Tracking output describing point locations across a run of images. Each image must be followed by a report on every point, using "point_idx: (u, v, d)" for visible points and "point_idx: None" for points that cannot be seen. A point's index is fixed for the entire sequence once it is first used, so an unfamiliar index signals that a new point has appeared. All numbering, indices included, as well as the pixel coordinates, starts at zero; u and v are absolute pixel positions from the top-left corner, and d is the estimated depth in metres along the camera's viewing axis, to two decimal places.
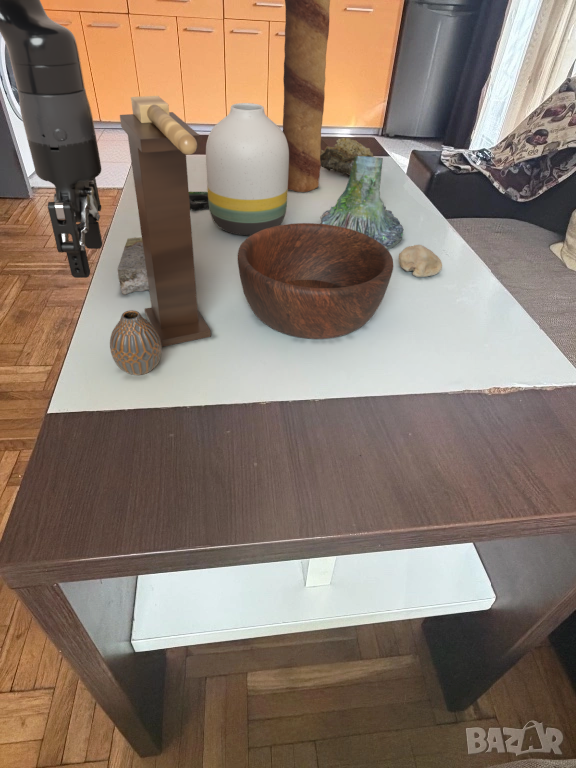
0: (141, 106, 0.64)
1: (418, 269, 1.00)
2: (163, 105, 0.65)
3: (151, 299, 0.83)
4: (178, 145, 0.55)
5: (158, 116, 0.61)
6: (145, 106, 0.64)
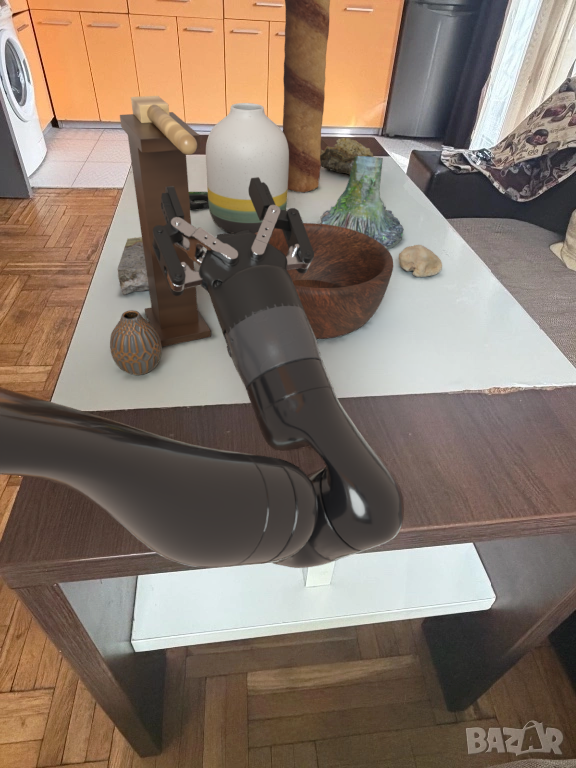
0: (141, 106, 0.64)
1: (418, 269, 1.00)
2: (163, 105, 0.65)
3: (151, 299, 0.83)
4: (178, 145, 0.55)
5: (158, 116, 0.61)
6: (145, 106, 0.64)
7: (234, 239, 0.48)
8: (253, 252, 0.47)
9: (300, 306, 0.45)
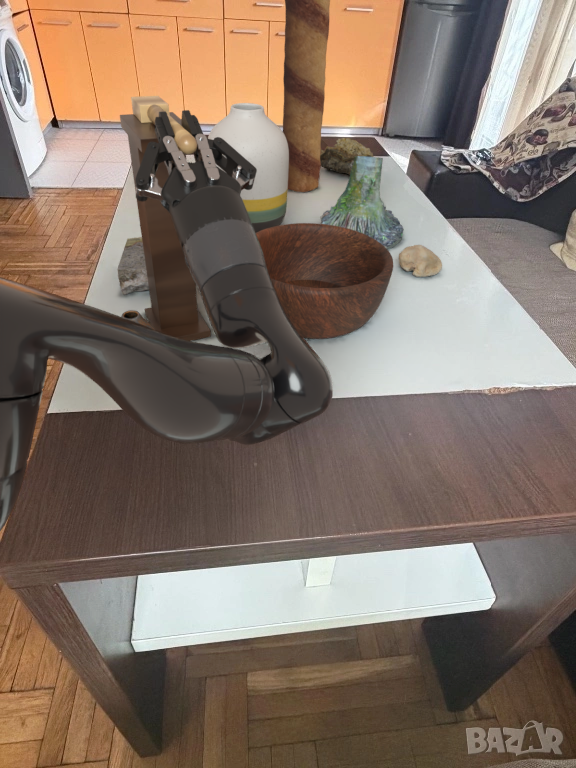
0: (141, 106, 0.64)
1: (418, 269, 1.00)
2: (163, 105, 0.65)
3: (151, 299, 0.83)
4: (178, 145, 0.55)
5: (158, 115, 0.61)
6: (145, 106, 0.64)
7: (193, 167, 0.54)
8: (212, 179, 0.53)
9: (248, 222, 0.51)
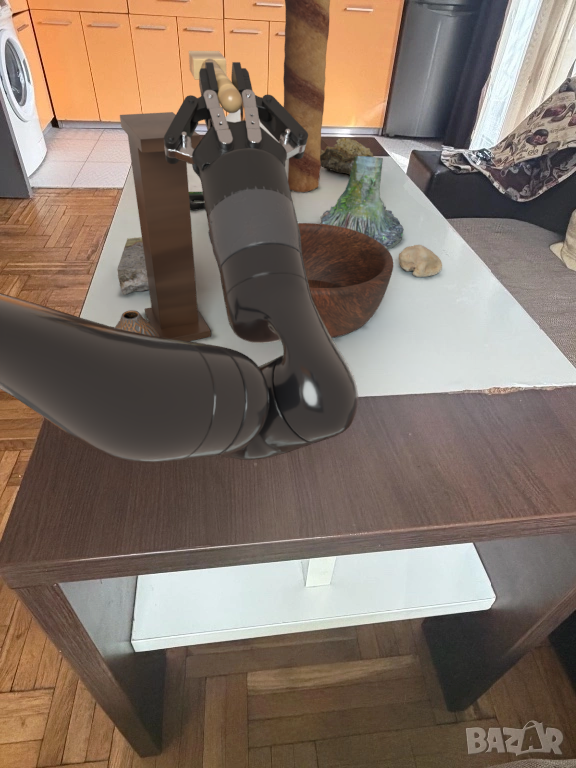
0: (195, 60, 0.57)
1: (418, 269, 1.00)
2: (220, 60, 0.57)
3: (151, 299, 0.83)
4: (220, 101, 0.47)
5: None
6: (200, 60, 0.57)
7: (234, 127, 0.47)
8: (252, 142, 0.45)
9: (286, 194, 0.43)
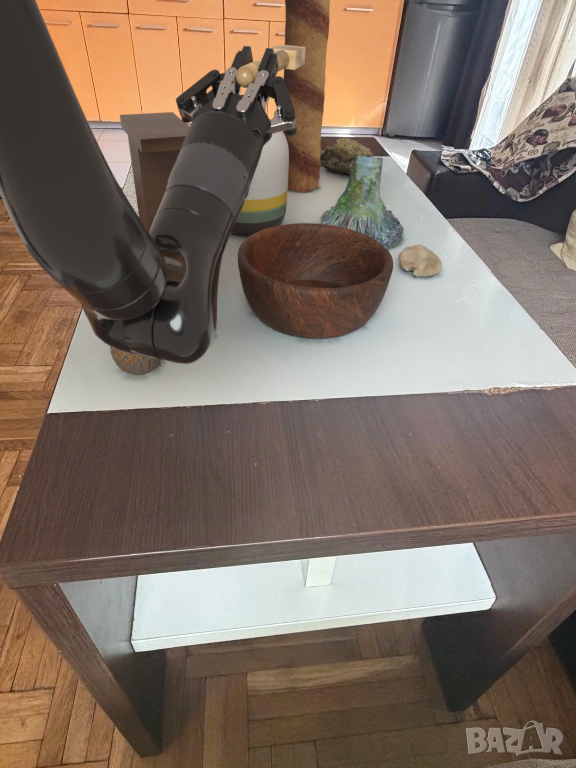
0: None
1: (418, 269, 1.00)
2: (290, 52, 0.65)
3: None
4: (236, 76, 0.55)
5: None
6: None
7: (235, 98, 0.54)
8: (237, 110, 0.52)
9: (234, 154, 0.49)
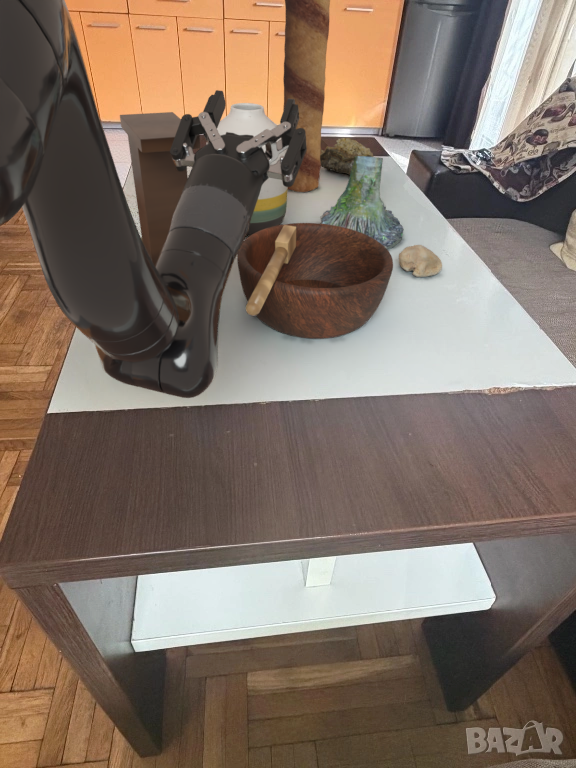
0: (287, 244, 0.78)
1: (418, 269, 1.00)
2: (286, 260, 0.80)
3: None
4: (252, 302, 0.69)
5: (277, 266, 0.75)
6: (286, 247, 0.78)
7: (235, 138, 0.57)
8: (236, 149, 0.55)
9: (235, 196, 0.52)
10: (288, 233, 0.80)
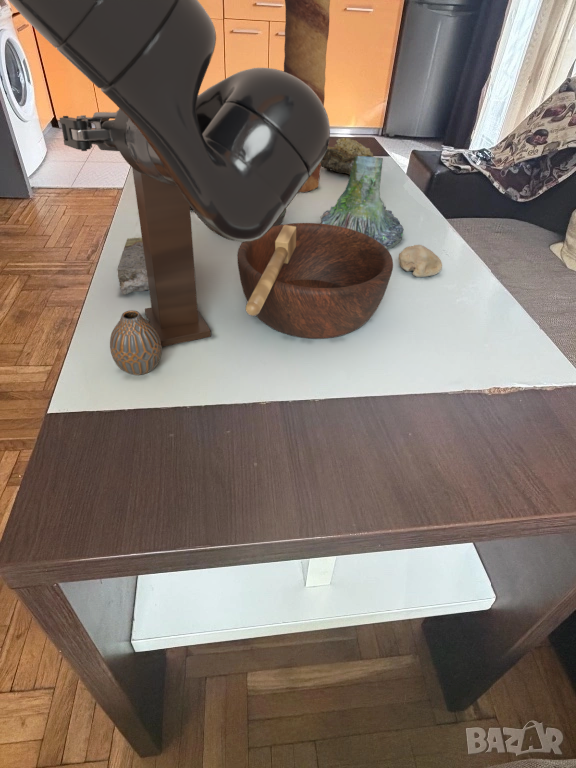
0: (287, 244, 0.78)
1: (418, 269, 1.00)
2: (286, 260, 0.80)
3: (151, 299, 0.83)
4: (252, 302, 0.69)
5: (277, 266, 0.75)
6: (286, 247, 0.78)
7: None
8: None
9: None
10: (288, 233, 0.80)
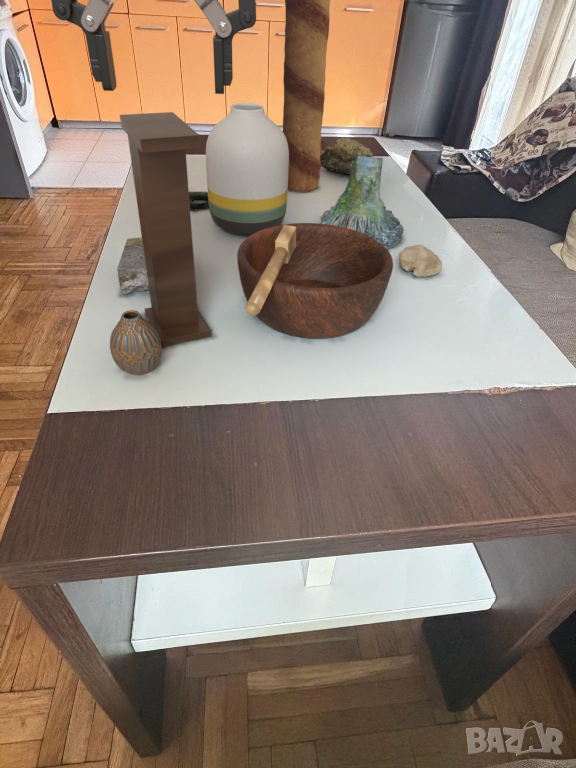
0: (287, 244, 0.78)
1: (418, 269, 1.00)
2: (286, 260, 0.80)
3: (151, 299, 0.83)
4: (252, 302, 0.69)
5: (277, 266, 0.75)
6: (286, 247, 0.78)
7: None
8: None
9: None
10: (288, 233, 0.80)
